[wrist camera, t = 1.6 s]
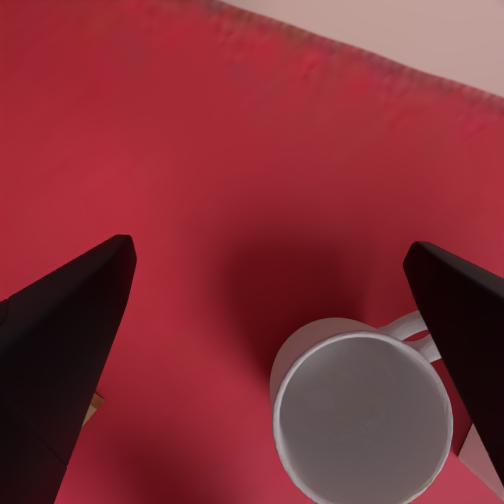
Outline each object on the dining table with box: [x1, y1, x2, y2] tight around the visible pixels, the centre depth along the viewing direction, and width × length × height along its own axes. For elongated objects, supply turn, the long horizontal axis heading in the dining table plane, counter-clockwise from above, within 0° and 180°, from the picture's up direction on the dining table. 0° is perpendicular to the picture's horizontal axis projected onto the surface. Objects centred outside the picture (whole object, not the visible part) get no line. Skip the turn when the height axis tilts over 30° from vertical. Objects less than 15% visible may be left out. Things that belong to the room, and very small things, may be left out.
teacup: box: [270, 310, 453, 504], centre depth 21 cm, size 14×11×8 cm
